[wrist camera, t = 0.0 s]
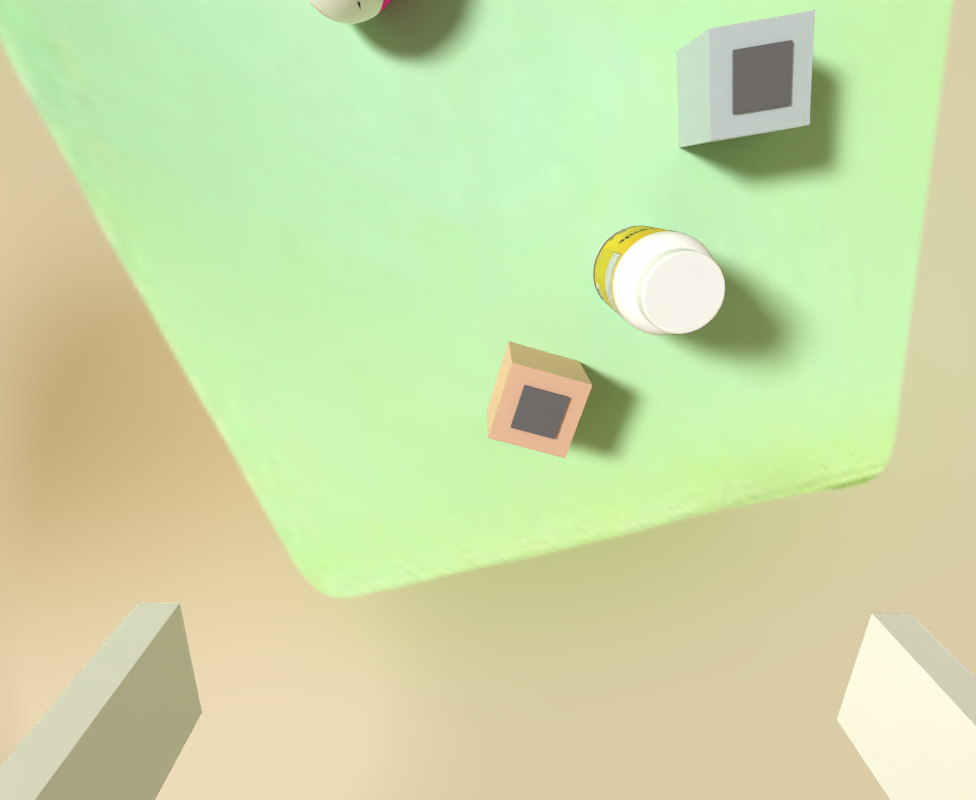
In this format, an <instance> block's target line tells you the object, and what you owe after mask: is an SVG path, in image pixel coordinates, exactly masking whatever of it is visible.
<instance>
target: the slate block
mask: <svg viewBox="0 0 976 800" xmlns="http://www.w3.org/2000/svg"><path fill="white" fill-rule="evenodd" d="M814 14H815V10H814V11H808V12H802V13H797V14H791V15H785V16H779V17H773V18H768V19H762V20H756V21H750V22H744V23H739V24H733V25H727V26H721V27H715V28H710V29H708V30H707V31H705V32H704V33H702V34H701V35H700V36H698V37H697V38H695V39H694V40H692V41H691V42H690V43H688V44H687V45H685V46H684V47H683V48H681V49H680V50H678V51H677V83H678V116H679V148H680V147H686V146H692V145H698V144H705V143H711V142H717V141H723V140H729V139H735V138H741V137H747V136H753V135H760V134H765V133H771V132H776V131H781V130H786V129H791V128H796V127H801V126H807V125H810V105H811V83H812V60H813V37H814Z"/></svg>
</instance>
